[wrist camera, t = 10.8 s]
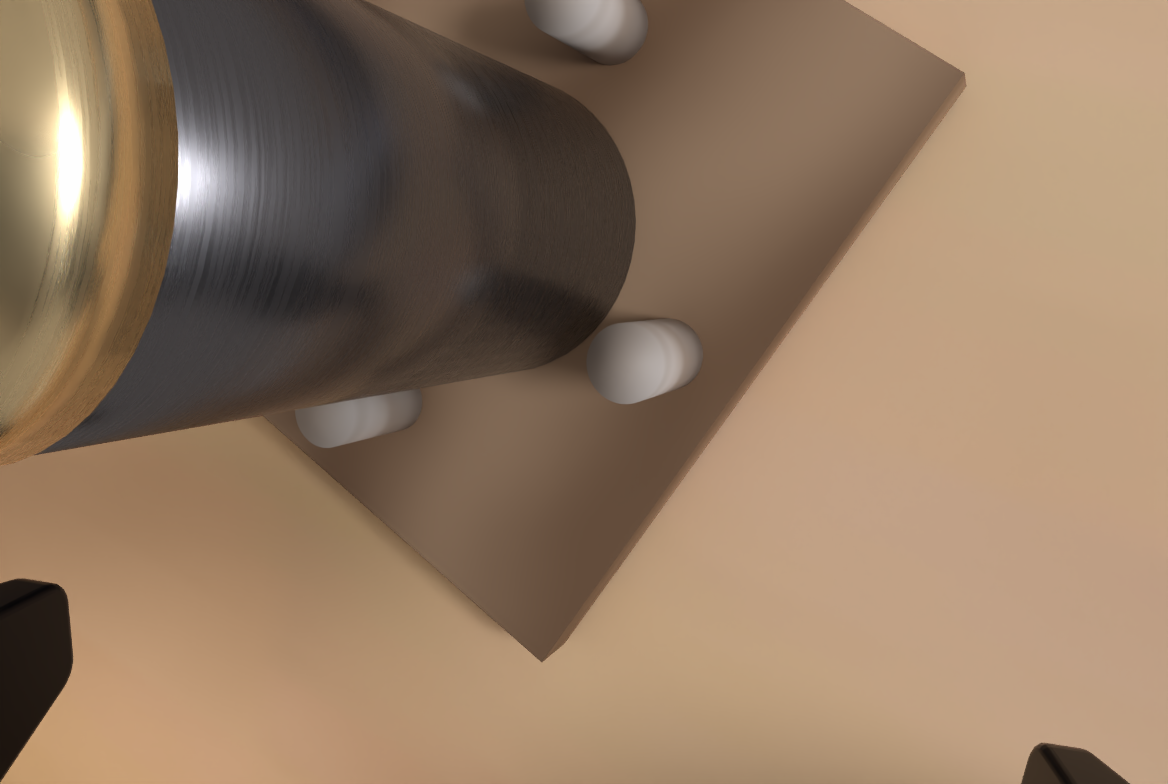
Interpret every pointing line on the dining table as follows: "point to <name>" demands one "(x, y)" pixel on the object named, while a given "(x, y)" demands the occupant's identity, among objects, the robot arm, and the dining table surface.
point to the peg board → (642, 281)
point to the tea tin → (280, 214)
